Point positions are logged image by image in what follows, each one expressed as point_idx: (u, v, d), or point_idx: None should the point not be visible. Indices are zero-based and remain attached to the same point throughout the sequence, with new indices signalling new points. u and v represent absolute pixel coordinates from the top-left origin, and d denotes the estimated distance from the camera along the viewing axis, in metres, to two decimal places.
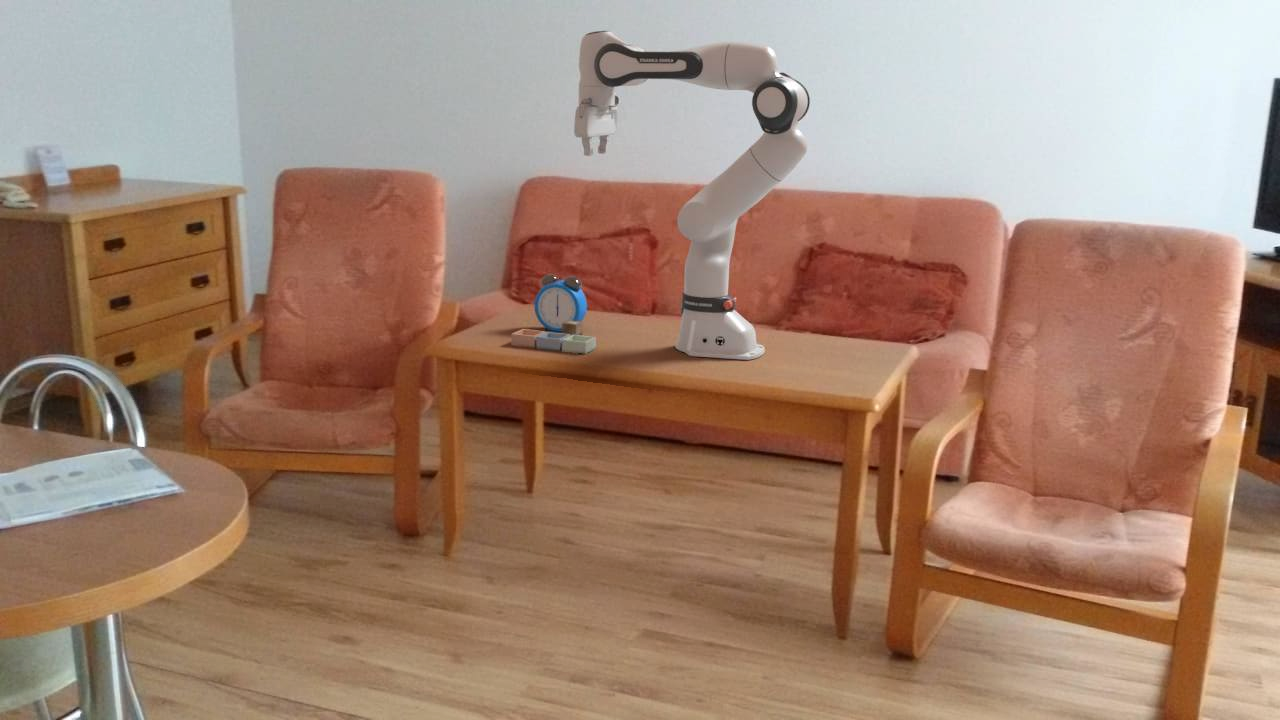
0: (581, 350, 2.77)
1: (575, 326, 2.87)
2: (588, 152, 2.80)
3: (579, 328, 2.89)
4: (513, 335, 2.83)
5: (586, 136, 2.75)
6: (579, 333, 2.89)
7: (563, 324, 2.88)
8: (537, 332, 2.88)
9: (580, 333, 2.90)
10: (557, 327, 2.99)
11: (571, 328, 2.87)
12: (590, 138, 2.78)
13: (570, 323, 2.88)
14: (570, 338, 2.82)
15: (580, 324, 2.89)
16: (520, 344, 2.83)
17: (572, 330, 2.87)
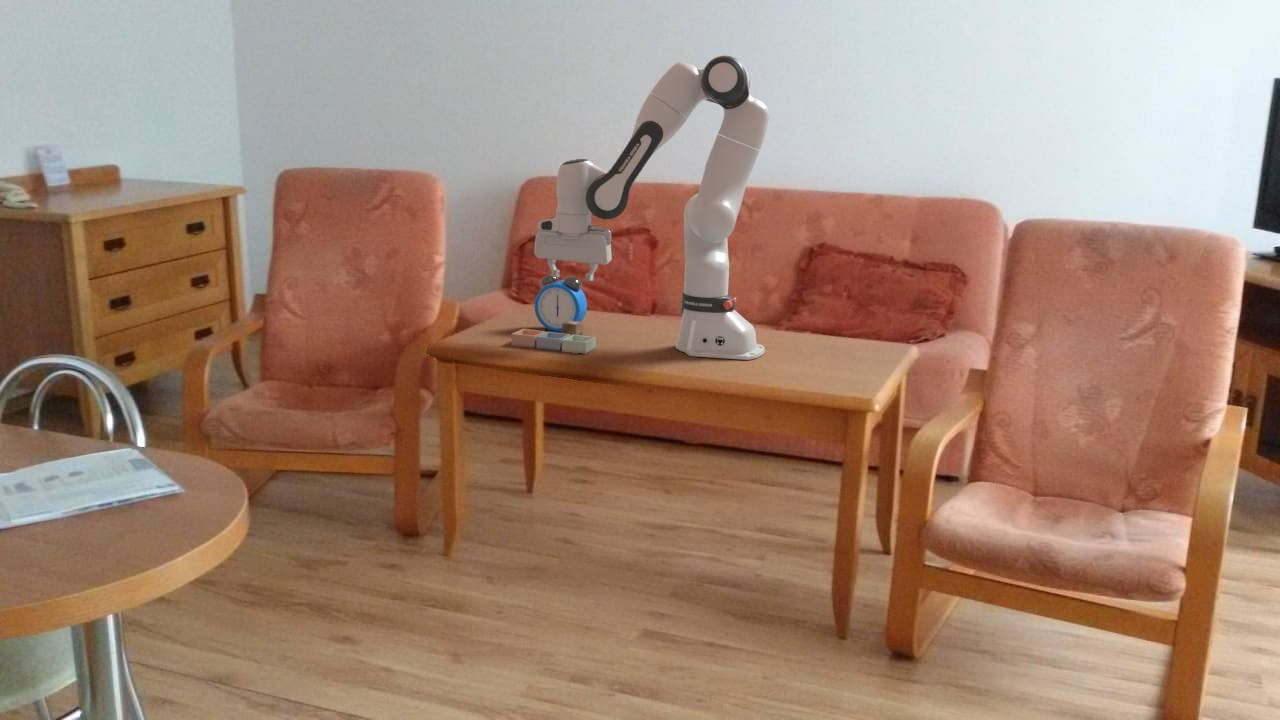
0: (581, 350, 2.77)
1: (575, 326, 2.87)
2: (592, 277, 2.85)
3: (579, 328, 2.89)
4: (513, 335, 2.83)
5: None
6: (579, 333, 2.89)
7: (563, 324, 2.88)
8: (537, 332, 2.88)
9: (580, 333, 2.90)
10: (557, 327, 2.99)
11: (571, 328, 2.87)
12: None
13: (570, 323, 2.88)
14: (570, 338, 2.82)
15: (580, 324, 2.89)
16: (520, 344, 2.83)
17: (572, 330, 2.87)
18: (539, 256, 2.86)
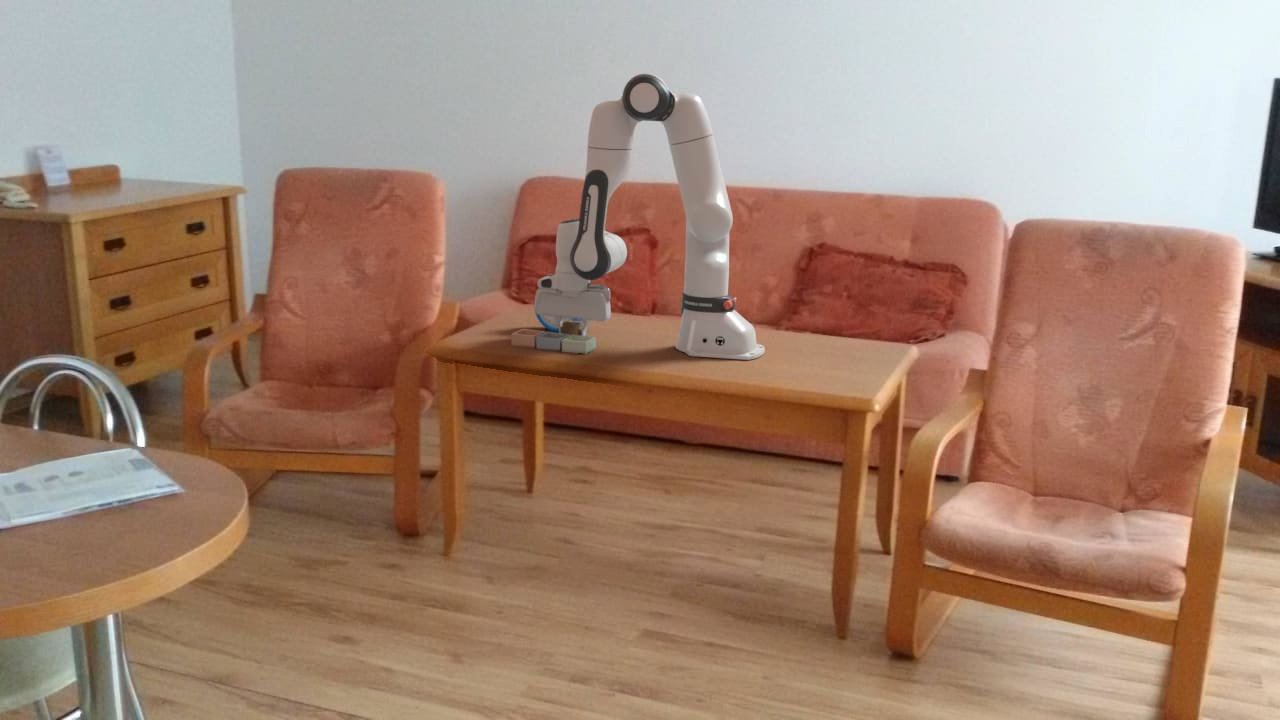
0: (581, 350, 2.77)
1: (575, 326, 2.87)
2: (585, 332, 2.89)
3: (579, 328, 2.89)
4: (513, 335, 2.83)
5: None
6: None
7: (563, 324, 2.88)
8: (537, 332, 2.88)
9: None
10: (557, 327, 2.99)
11: (571, 328, 2.87)
12: None
13: (570, 323, 2.88)
14: (570, 338, 2.82)
15: (580, 324, 2.89)
16: (520, 344, 2.83)
17: (572, 330, 2.87)
18: (539, 313, 2.90)
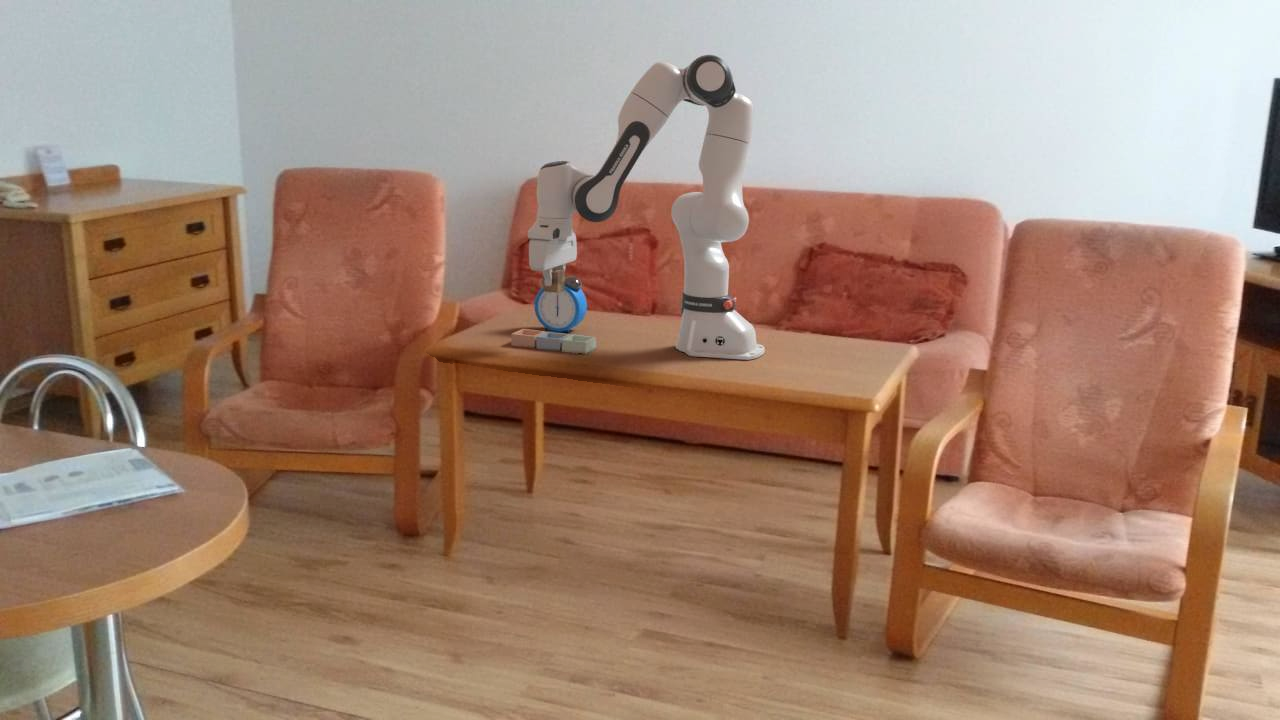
0: (581, 350, 2.77)
1: (564, 272, 2.80)
2: None
3: None
4: (513, 335, 2.83)
5: None
6: None
7: (558, 273, 2.77)
8: (537, 332, 2.88)
9: None
10: (557, 327, 2.99)
11: (562, 275, 2.79)
12: None
13: (558, 271, 2.78)
14: (570, 338, 2.82)
15: None
16: (520, 344, 2.83)
17: (563, 277, 2.79)
18: (545, 268, 2.70)
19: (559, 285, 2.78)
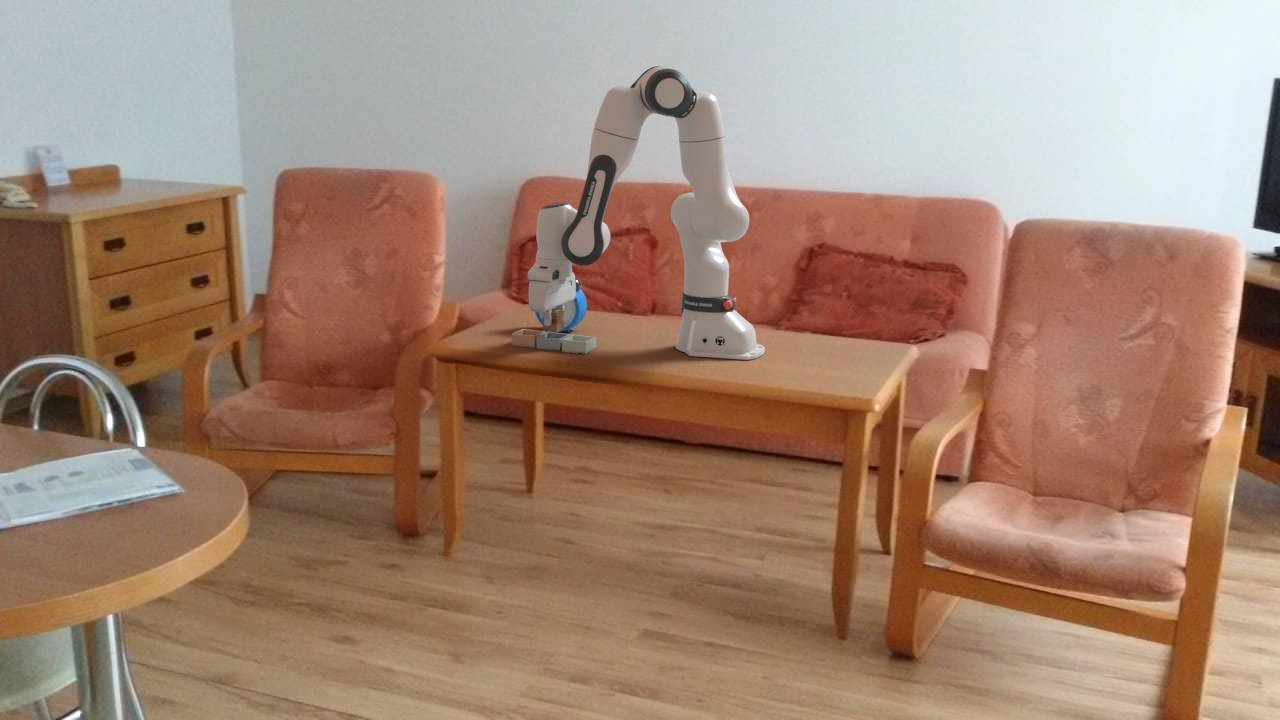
0: (581, 350, 2.77)
1: (563, 311, 2.82)
2: None
3: None
4: (513, 335, 2.83)
5: None
6: None
7: (557, 313, 2.79)
8: (537, 332, 2.88)
9: None
10: None
11: (561, 315, 2.81)
12: None
13: (557, 311, 2.81)
14: (570, 338, 2.82)
15: None
16: (520, 344, 2.83)
17: (562, 316, 2.82)
18: (545, 309, 2.72)
19: (558, 325, 2.80)
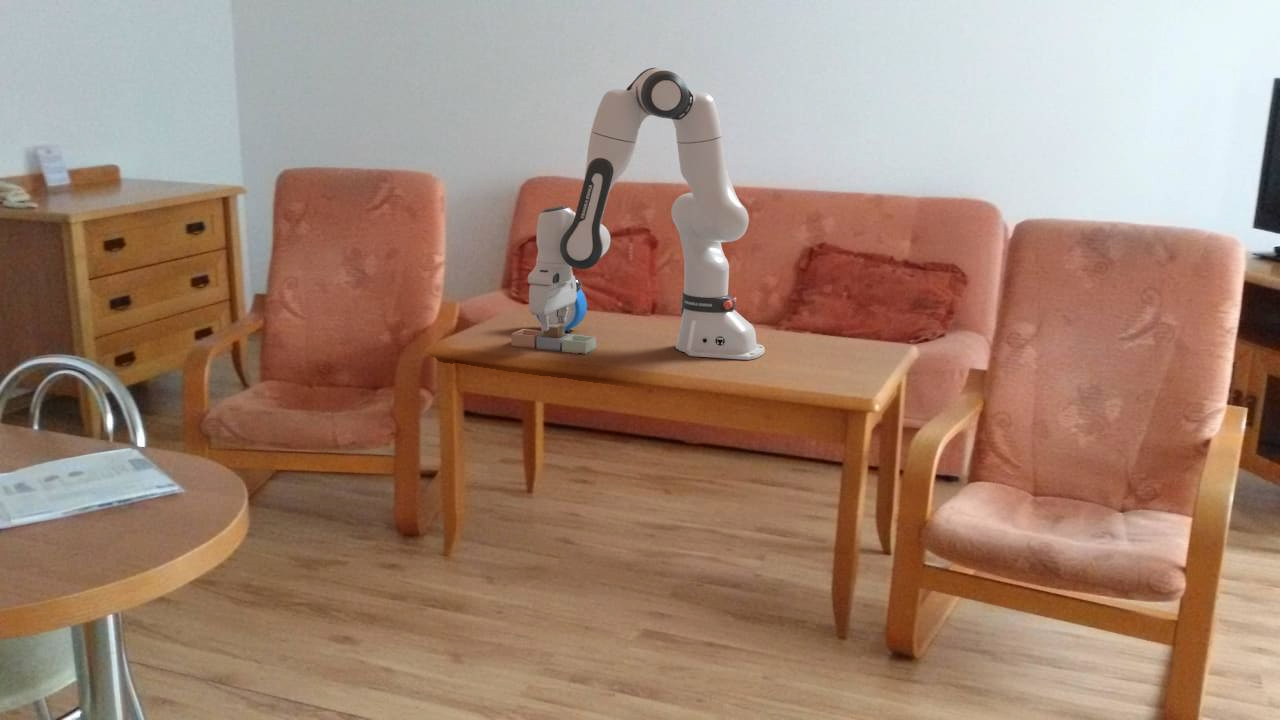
0: (581, 350, 2.77)
1: (564, 326, 2.83)
2: None
3: None
4: (513, 335, 2.83)
5: None
6: None
7: (558, 328, 2.80)
8: (537, 332, 2.88)
9: None
10: None
11: (562, 330, 2.83)
12: None
13: (558, 326, 2.82)
14: (570, 338, 2.82)
15: None
16: (520, 344, 2.83)
17: (562, 331, 2.83)
18: (545, 313, 2.73)
19: None
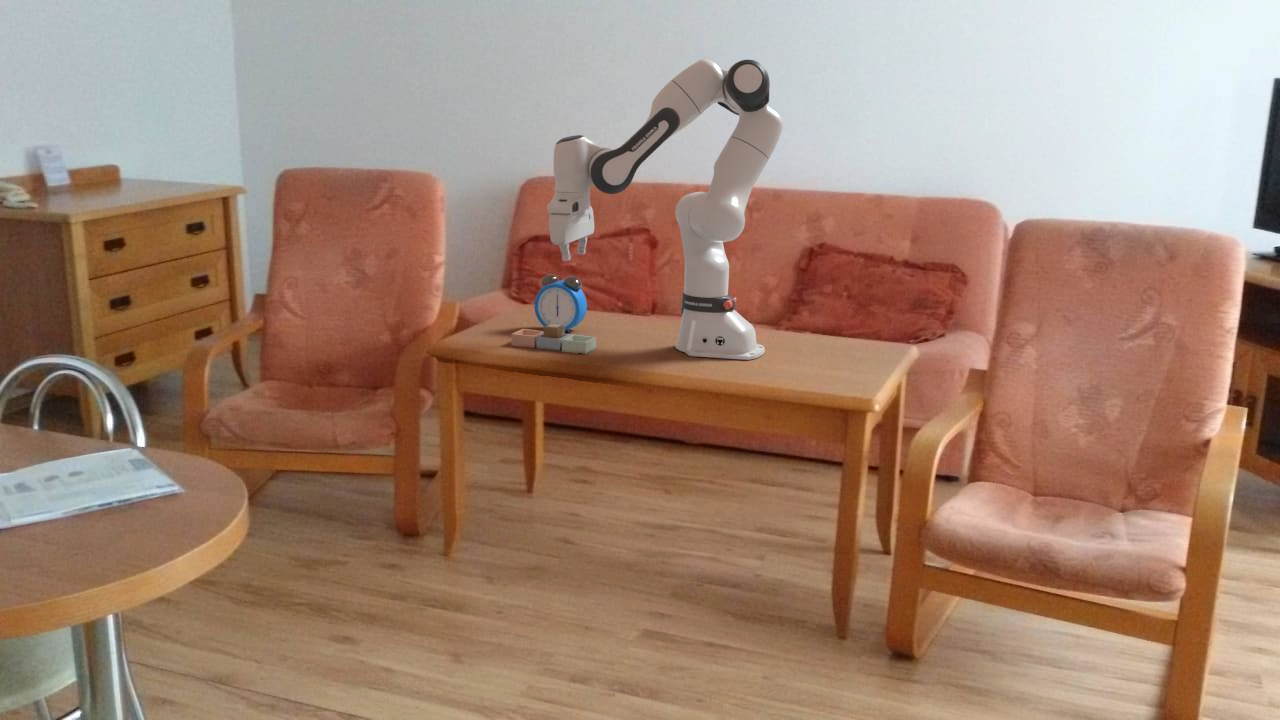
0: (581, 350, 2.77)
1: (564, 326, 2.83)
2: None
3: None
4: (513, 335, 2.83)
5: None
6: None
7: (558, 328, 2.80)
8: (537, 332, 2.88)
9: None
10: None
11: (562, 330, 2.83)
12: None
13: (558, 326, 2.82)
14: (570, 338, 2.82)
15: None
16: (520, 344, 2.83)
17: (562, 331, 2.83)
18: (566, 242, 2.74)
19: None
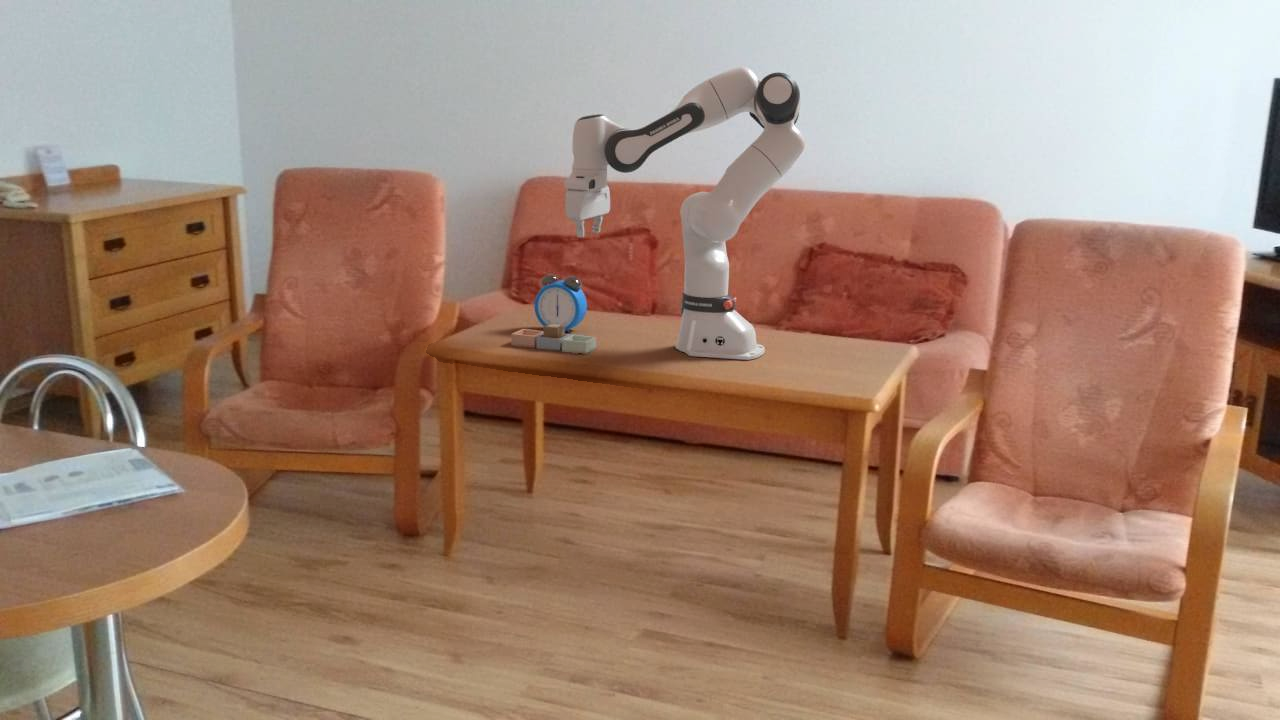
0: (581, 350, 2.77)
1: (564, 326, 2.83)
2: None
3: None
4: (513, 335, 2.83)
5: None
6: None
7: (558, 328, 2.80)
8: (537, 332, 2.88)
9: None
10: None
11: (562, 330, 2.83)
12: None
13: (558, 326, 2.82)
14: (570, 338, 2.82)
15: None
16: (520, 344, 2.83)
17: (562, 331, 2.83)
18: (581, 218, 2.78)
19: None
